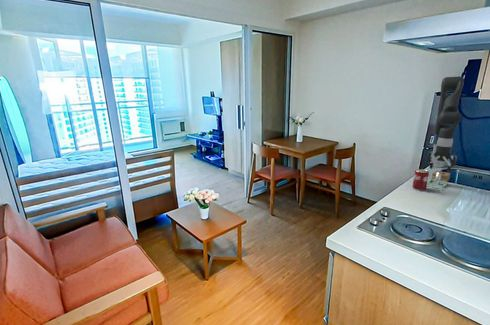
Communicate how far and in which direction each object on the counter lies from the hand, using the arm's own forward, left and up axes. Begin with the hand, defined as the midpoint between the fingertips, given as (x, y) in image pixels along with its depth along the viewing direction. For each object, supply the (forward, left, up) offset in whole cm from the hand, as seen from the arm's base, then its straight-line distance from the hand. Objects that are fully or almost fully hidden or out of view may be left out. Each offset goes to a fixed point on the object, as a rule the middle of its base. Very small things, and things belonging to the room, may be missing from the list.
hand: (439, 170), depth 161 cm
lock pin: (0, 0, -10) cm, 10 cm away
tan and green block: (-11, -1, -11) cm, 16 cm away
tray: (0, 0, -11) cm, 11 cm away
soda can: (+13, -6, -11) cm, 18 cm away
